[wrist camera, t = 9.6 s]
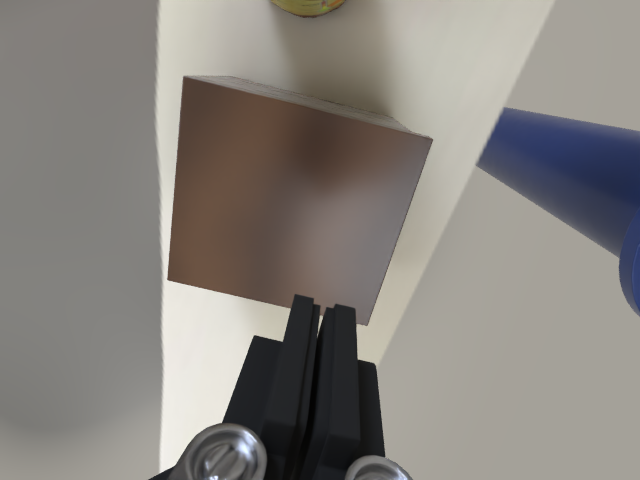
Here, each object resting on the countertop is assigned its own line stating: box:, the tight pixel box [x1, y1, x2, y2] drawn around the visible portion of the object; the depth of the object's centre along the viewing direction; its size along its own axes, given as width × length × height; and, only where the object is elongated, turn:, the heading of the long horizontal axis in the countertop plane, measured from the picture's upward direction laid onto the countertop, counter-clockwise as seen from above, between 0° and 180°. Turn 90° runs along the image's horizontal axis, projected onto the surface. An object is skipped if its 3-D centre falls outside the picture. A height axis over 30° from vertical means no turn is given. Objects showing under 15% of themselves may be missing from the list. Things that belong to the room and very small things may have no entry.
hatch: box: [167, 76, 433, 326], centre depth 19 cm, size 11×10×1 cm
